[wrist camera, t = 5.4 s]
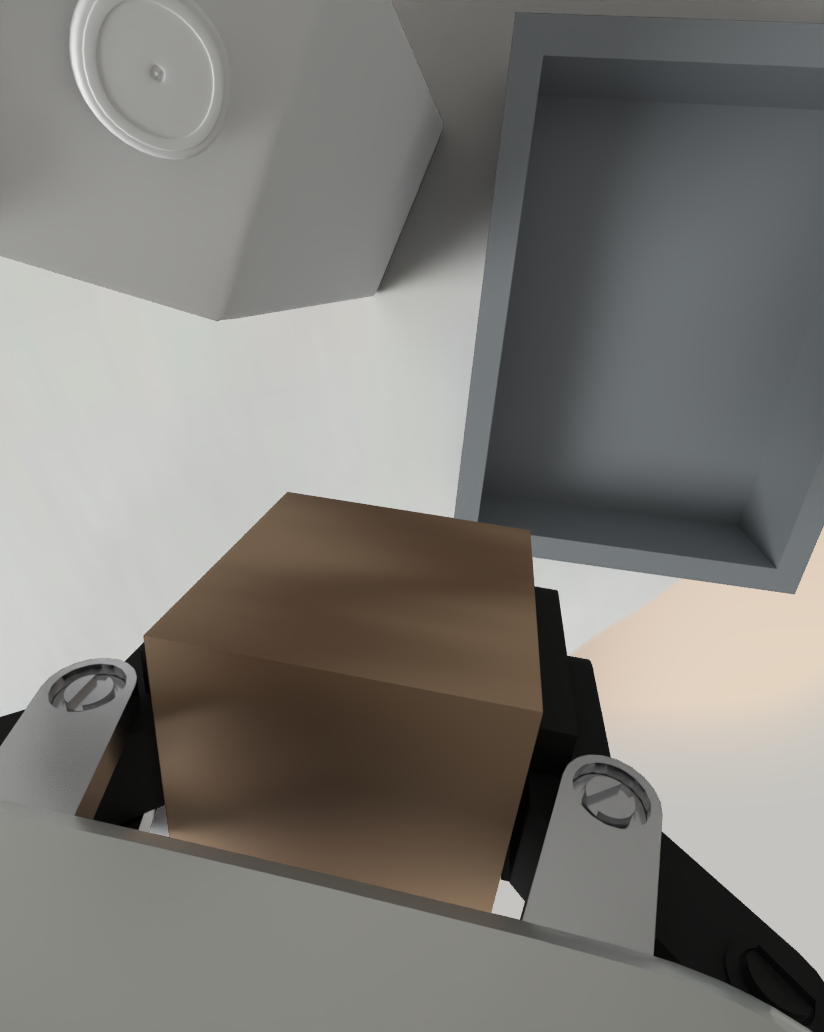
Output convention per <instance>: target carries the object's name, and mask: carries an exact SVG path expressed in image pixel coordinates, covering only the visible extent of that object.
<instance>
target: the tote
mask: <svg viewBox="0 0 824 1032" xmlns="http://www.w3.org/2000/svg"><path fill="white" fill-rule="evenodd" d="M454 518H456V519H462V520H468V521H475V522H481V523H487V524H494V525H500V526H506V527H513V528H519V529H525V530H530V532H531V547H532V557H536V558H543V559H550V560H557V561H564V562H571V563H578V564H585V565H592V566H599V567H606V568H614V569H621V570H628V571H635V572H642V573H649V574H656V575H663V576H670V577H677V578H684V579H691V580H698V581H705V582H712V583H719V584H726V585H734V586H740V587H748V588H755V589H761V590H768V591H775V592H783V593H790V594H795V592H796V590H797V587H798V585H799V582H800V580H801V578H802V575H803V573H804V571H805V568H806V566H807V564H808V561H809V559H810V557H811V554H812V552H813V549H814V547H815V545H816V542H817V540H818V538H819V535H820V533H821V530H822V528H823V526H824V23H798V22H770V21H742V20H715V19H687V18H660V17H632V16H604V15H577V14H549V13H521V12H516V13H515V21H514V29H513V37H512V46H511V54H510V62H509V70H508V78H507V87H506V95H505V103H504V111H503V120H502V128H501V136H500V144H499V153H498V161H497V169H496V177H495V185H494V194H493V202H492V210H491V218H490V227H489V235H488V243H487V251H486V260H485V268H484V276H483V284H482V292H481V301H480V309H479V317H478V325H477V334H476V342H475V350H474V358H473V366H472V375H471V383H470V391H469V399H468V408H467V416H466V424H465V432H464V441H463V449H462V457H461V465H460V473H459V482H458V490H457V498H456V506H455V515H454Z"/></svg>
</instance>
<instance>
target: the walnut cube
mask: <svg viewBox="0 0 824 1032" xmlns="http://www.w3.org/2000/svg"><path fill="white" fill-rule="evenodd" d="M144 644H145V652H146V660H147V667H148V675H149V683H150V691H151V699H152V706H153V714H154V722H155V730H156V738H157V745H158V753H159V761H160V769H161V776H162V784H163V792H164V800H165V808H166V815H167V823H168V831H169V837H170V838H175V839H179V840H183V841H188V842H192V843H196V844H201V845H205V846H209V847H214V848H218V849H222V850H226V851H231V852H235V853H239V854H244V855H248V856H252V857H257V858H261V859H265V860H270V861H274V862H278V863H282V864H287V865H291V866H295V867H300V868H304V869H308V870H312V871H317V872H321V873H325V874H329V875H334V876H338V877H342V878H347V879H351V880H355V881H359V882H363V883H368V884H372V885H376V886H380V887H384V888H389V889H393V890H397V891H401V892H405V893H409V894H414V895H418V896H422V897H426V898H430V899H435V900H439V901H443V902H447V903H451V904H456V905H460V906H464V907H468V908H472V909H476V910H481V911H485V912H489V913H491V911H492V907H493V904H494V900H495V895H496V892H497V888H498V884H499V880H500V877H501V873H502V869H503V865H504V861H505V857H506V853H507V850H508V846H509V842H510V838H511V834H512V830H513V826H514V823H515V819H516V815H517V811H518V807H519V803H520V799H521V795H522V792H523V788H524V784H525V780H526V776H527V772H528V768H529V765H530V761H531V757H532V753H533V749H534V745H535V741H536V738H537V734H538V730H539V726H540V722H541V718H542V714H543V705H542V690H541V676H540V662H539V647H538V633H537V619H536V604H535V590H534V576H533V561H532V547H531V532H530V530H525V529H519V528H513V527H506V526H500V525H494V524H487V523H481V522H475V521H468V520H462V519H456V518H449V517H443V516H437V515H430V514H424V513H417V512H411V511H405V510H398V509H392V508H386V507H379V506H373V505H367V504H360V503H354V502H348V501H341V500H335V499H329V498H322V497H316V496H309V495H303V494H297V493H290V492H287V493H286V494H285V495H284V496H283V497H282V498H281V499H280V500H279V501H278V502H277V503H276V504H275V505H274V506H273V507H272V508H271V509H270V510H269V511H268V512H267V513H266V514H265V515H264V516H263V517H262V518H261V519H260V520H259V521H258V522H257V523H256V524H255V525H254V526H253V527H252V528H251V529H250V530H249V531H248V532H247V533H246V534H245V535H244V536H243V537H242V538H241V539H240V540H239V541H238V542H237V543H236V544H235V545H234V546H233V547H232V548H231V549H230V550H229V551H228V552H227V553H226V554H225V555H224V556H223V557H222V558H221V559H220V560H219V561H218V562H217V563H216V564H215V565H214V566H213V567H212V568H211V569H210V570H209V571H208V572H207V573H206V574H205V575H204V576H203V577H202V578H201V579H200V580H199V581H198V582H197V583H196V584H195V585H194V586H193V587H192V588H191V589H190V590H189V591H188V592H187V593H186V594H185V595H184V596H183V597H182V598H181V599H180V600H179V601H178V602H177V603H176V604H175V605H174V606H173V607H172V608H171V609H170V610H169V611H168V612H167V613H166V614H165V615H164V616H163V617H162V618H161V619H160V620H159V621H158V622H157V623H156V624H155V625H154V626H153V627H152V628H151V629H150V630H149V631H148V632H147V633H146V634H145V635H144Z"/></svg>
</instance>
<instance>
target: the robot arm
mask: <svg viewBox="0 0 824 1032" xmlns="http://www.w3.org/2000/svg"><path fill="white" fill-rule="evenodd" d="M534 590H535V604H536V619H537V633H538V647H539V662H540V676H541V690H542V705H543V714H542V718H541V722H540V726H539V730H538V734H537V738H536V741H535V745H534V749H533V753H532V757H531V761H530V765H529V768H528V772H527V776H526V780H525V784H524V788H523V792H522V795H521V799H520V803H519V807H518V811H517V815H516V819H515V823H514V826H513V830H512V834H511V838H510V842H509V846H508V850H507V853H506V857H505V861H504V865H503V869H502V873H501V879H502V880H505V881H509V882H510V884H511V885H512V886H513V887H514V889H515V890H516V891H517V892H518V893H519V895H520V896H521V897H522V898H523V899H524V901H525V903H524V907H523V911H522V914H521V918H520V920H518V919H514V918H509V917H506V916H502V915H497V914H493V913H489V912H485V911H481V910H476V909H472V908H468V907H464V906H460V905H456V904H451V903H447V902H443V901H439V900H435V899H430V898H426V897H422V896H418V895H414V894H409V893H405V892H401V891H397V890H393V889H389V888H384V887H380V886H376V885H372V884H368V883H363V882H359V881H355V880H351V879H347V878H342V877H338V876H334V875H329V874H325V873H321V872H317V871H312V870H308V869H304V868H300V867H295V866H291V865H287V864H282V863H278V862H274V861H270V860H265V859H261V858H257V857H252V856H248V855H244V854H239V853H235V852H231V851H226V850H222V849H218V848H214V847H209V846H205V845H201V844H196V843H192V842H188V841H183V840H179V839H175V838H170V837H166V836H161V835H157V834H153V833H149V830H150V827H151V824H152V821H153V818H154V811H155V809H156V808H158V807H161V806H163V805H165V800H164V792H163V784H162V776H161V769H160V761H159V753H158V745H157V738H156V730H155V722H154V714H153V706H152V699H151V691H150V683H149V675H148V667H147V660H146V652H145V644H144V643H143V644H142V645H141V646H140V647H139V648H138V649H137V650H136V651H135V652H134V653H133V654H132V655H131V656H130V657H129V658H128V659H127V660H126V661H125V662H124V661H121V660H118V659H111V658H98V659H89V660H86V661H82V662H78V663H75V664H73V665H70V666H68V667H66V668H64V669H61V670H60V671H58V672H57V673H56V674H54V675H53V676H51V677H50V678H49V679H48V680H47V681H46V682H45V683H44V684H43V685H42V686H41V688H40V689H39V691H38V692H37V693H36V695H35V696H34V698H33V699H32V701H31V702H30V704H29V705H28V707H27V708H26V709H25V710H22V711H19V712H15V713H12V714H9V715H6V716H2V717H0V1032H824V982H823V980H822V979H821V977H820V976H819V974H818V973H817V971H816V970H815V969H814V968H812V966H810V964H809V963H808V962H807V961H806V960H805V959H804V958H803V957H802V956H801V955H800V954H799V953H798V952H797V951H796V950H795V949H794V948H793V947H791V946H790V945H789V944H788V943H787V942H786V941H785V940H784V939H782V938H781V937H780V936H779V935H778V934H777V933H776V932H774V931H773V930H772V929H771V928H770V927H769V926H768V925H767V924H766V923H764V922H763V921H762V920H761V919H760V918H759V917H758V916H757V915H755V914H754V913H753V912H752V911H751V910H750V909H749V908H748V907H746V906H745V905H744V904H743V903H742V902H741V901H740V900H739V899H737V898H736V897H735V896H734V895H733V894H732V893H730V892H729V891H728V890H727V889H726V888H725V887H724V886H723V885H722V884H720V883H719V882H718V881H717V880H716V879H715V878H714V877H713V876H711V875H710V874H709V873H708V872H707V871H706V870H705V869H703V868H702V867H701V866H700V865H699V864H698V863H697V862H696V861H695V860H693V859H692V858H691V857H690V856H689V855H688V854H687V853H686V852H684V851H683V850H682V849H681V848H680V847H679V846H678V845H676V844H675V843H674V842H673V841H672V840H671V839H670V838H669V837H667V836H666V835H665V834H664V833H663V832H662V808H661V802H660V800H659V798H658V796H657V794H656V792H655V790H654V788H653V787H652V786H651V785H650V784H649V782H648V781H647V780H646V779H645V778H644V777H643V776H642V775H641V774H639V773H638V772H637V771H636V770H634V769H633V768H632V767H630V766H628V765H627V764H625V763H623V762H621V761H619V760H617V759H613V758H611V757H610V752H609V747H608V742H607V737H606V732H605V727H604V722H603V717H602V712H601V707H600V702H599V697H598V692H597V687H596V682H595V677H594V672H593V667H592V664H591V661H590V660H588V659H582V658H577V657H572V656H567V652H566V645H565V638H564V631H563V624H562V617H561V609H560V602H559V595H558V591H557V590H552V589H546V588H540V587H535V586H534Z"/></svg>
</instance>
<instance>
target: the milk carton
mask: <svg viewBox="0 0 824 1032" xmlns="http://www.w3.org/2000/svg"><path fill="white" fill-rule="evenodd" d="M442 128H443V123H442V120H441V117H440V115H439V113H438V110H437V108H436V106H435V103H434V101H433V99H432V96H431V94H430V92H429V89H428V87H427V84H426V82H425V80H424V77H423V75H422V73H421V70H420V68H419V66H418V63H417V61H416V58H415V56H414V54H413V51H412V49H411V47H410V44H409V42H408V40H407V37H406V35H405V33H404V30H403V28H402V25H401V23H400V21H399V18H398V16H397V14H396V11H395V9H394V7H393V4H392V2H391V0H0V256H2V257H6V258H9V259H12V260H16V261H19V262H22V263H25V264H29V265H32V266H35V267H39V268H42V269H45V270H49V271H52V272H55V273H59V274H62V275H65V276H69V277H72V278H75V279H79V280H82V281H85V282H89V283H92V284H95V285H98V286H102V287H105V288H108V289H112V290H115V291H118V292H122V293H125V294H128V295H132V296H135V297H138V298H142V299H145V300H148V301H152V302H155V303H158V304H161V305H165V306H168V307H171V308H175V309H178V310H181V311H185V312H188V313H191V314H195V315H198V316H201V317H205V318H208V319H212V320H215V321H219V320H225V319H235V318H241V317H248V316H254V315H260V314H266V313H272V312H278V311H284V310H290V309H296V308H302V307H308V306H314V305H321V304H327V303H333V302H339V301H345V300H351V299H357V298H363V297H369V296H373V295H374V294H375V293H376V291H377V289H378V287H379V285H380V282H381V280H382V277H383V275H384V273H385V270H386V268H387V265H388V263H389V260H390V258H391V255H392V253H393V250H394V248H395V245H396V243H397V241H398V238H399V236H400V233H401V231H402V228H403V226H404V223H405V221H406V218H407V216H408V214H409V211H410V209H411V206H412V204H413V201H414V199H415V196H416V194H417V191H418V189H419V187H420V184H421V182H422V179H423V177H424V174H425V172H426V169H427V167H428V164H429V162H430V160H431V157H432V155H433V152H434V150H435V147H436V145H437V142H438V140H439V137H440V134H441V131H442Z"/></svg>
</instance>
